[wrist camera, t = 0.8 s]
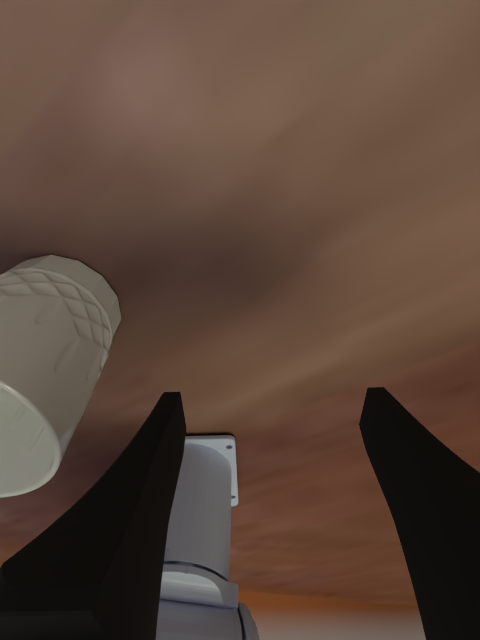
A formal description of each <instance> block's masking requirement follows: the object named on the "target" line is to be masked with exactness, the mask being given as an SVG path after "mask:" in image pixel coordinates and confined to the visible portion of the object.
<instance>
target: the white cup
mask: <svg viewBox="0 0 480 640" xmlns="http://www.w3.org/2000/svg"><path fill="white" fill-rule="evenodd" d="M121 319H122V318H121V312H120V307H119V302H118V297H117V295H116V294H115V293H114V291H113V290H112V288H111V287H110V286H109V284H108V283H107V282H106V280H105V279H104V277H103V276H101V275H100V274H98V273H97V272H95V271H94V270H92V269H91V268H89V267H88V266H86V265H85V264H83V263H82V262H80V261H78V260H73V259H69V258H64V257H60V256H55V255H47V256H42V257H37V258H33V259H28V260H25V261H23V262H22V263H20V264H18V265H17V266H15V267H13V268H12V269H10V270H8V271H7V272H5V273H3V274H0V498H1V497H10V496H16V495H21V494H24V493H28V492H30V491H33V490H35V489H37V488H39V487H41V486H43V485H44V484H45V483H47V482H48V481H49V480H50V479H51V478H52V477H53V476H54V475H55V473H56V472H57V470H58V468H59V465H60V463H61V461H62V459H63V457H64V454H65V452H66V450H67V448H68V445H69V443H70V441H71V439H72V437H73V434H74V432H75V430H76V428H77V425H78V423H79V421H80V419H81V417H82V415H83V412H84V410H85V408H86V406H87V404H88V402H89V400H90V397H91V395H92V393H93V391H94V388H95V385H96V382H97V380H98V378H99V376H100V374H101V372H102V369H103V366H104V364H105V362H106V360H107V357H108V355H109V348H110V345H111V343H112V341H113V339H114V337H115V335H116V332H117V329H118V327H119V324H120V321H121Z"/></svg>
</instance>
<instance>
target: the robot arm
mask: <svg viewBox="0 0 480 640" xmlns="http://www.w3.org/2000/svg"><path fill="white" fill-rule="evenodd" d="M359 426H360V430H361V434H362V438H363V441H364V445H365V448H366V451H367V454H368V457H369V459H370V462H371V464H372V467H373V469H374V471H375V474H376V476H377V479H378V481H379V484H380V486H381V489H382V491H383V494H384V496H385V498H386V501H387V503H388V506H389V508H390V511H391V514H392V516H393V519H394V522H395V525H396V529H397V532H398V535H399V539H400V542H401V545H402V549H403V552H404V556H405V559H406V563H407V566H408V570H409V573H410V577H411V580H412V584H413V588H414V592H415V596H416V600H417V604H418V608H419V611H420V615H421V619H422V623H423V628H424V632H425V637H426V640H480V473H479V472H478V471H476V470H475V469H474V468H472V467H471V466H470V465H468V464H467V463H466V462H465V461H463V460H462V459H461V458H459V457H458V456H457V455H456V454H455V453H453V452H452V451H451V450H450V449H449V448H447V447H446V446H445V445H444V444H443V443H442V442H440V441H439V440H438V439H437V438H436V437H435V436H434V435H432V434H431V433H430V432H429V431H428V430H427V429H426V428H425V427H424V426H423V425H422V424H421V423H420V422H418V421H417V420H416V419H415V418H414V417H413V416H412V415H411V414H410V413H409V412H408V411H407V410H406V409H405V408H404V407H403V406H402V405H401V404H400V403H399V402H398V401H397V400H396V399H395V398H394V397H393V396H392V395H391V394H390V393H389V392H388V391H387V390H386V389H385V388H384V387H377V388H368V389H367V393H366V397H365V401H364V406H363V410H362V414H361V419H360V423H359ZM237 504H238V485H237V466H236V448H235V438H234V437H233V436H231V435H218V436H186V424H185V418H184V412H183V406H182V400H181V393H180V392H164V393H163V394H162V396H161V397H160V399H159V401H158V402H157V404H156V406H155V407H154V409H153V410H152V412H151V413H150V415H149V416H148V418H147V419H146V421H145V422H144V424H143V425H142V427H141V428H140V430H139V431H138V432H137V434H136V435H135V437H134V438H133V439H132V441H131V442H130V443H129V444H128V446H127V447H126V448H125V450H124V451H123V452H122V453H121V455H120V456H119V457H118V458H117V460H116V461H115V462H114V463H113V464H112V466H111V467H110V468H109V469H108V470H107V471H106V472H105V473H104V475H103V476H102V477H101V478H100V479H99V480H98V481H97V482H96V483H95V484H94V485H93V486H92V487H91V488H90V489H89V490H88V491H87V492H86V493H85V494H84V495H83V496H82V497H81V498H80V499H79V500H78V501H77V502H76V503H75V504H74V505H73V506H72V507H71V508H70V509H69V510H68V511H66V512H65V513H64V514H63V515H62V516H61V517H60V518H58V519H57V520H56V521H55V522H54V523H53V524H52V525H51V526H49V527H48V528H47V529H46V530H45V531H44V532H42V533H41V534H40V535H39V536H38V537H36V538H35V539H34V540H32V541H31V542H30V543H29V544H27V545H26V546H25V547H24V548H22V549H21V550H20V551H19V552H17V553H16V554H15V555H13V556H12V557H11V558H10V559H8V560H7V561H5V562H4V563H3V564H2V566H1V568H0V640H259V635H258V631H257V627H256V624H255V622H254V620H253V618H252V616H251V614H250V611H249V610H248V607H247V606H246V605H245V604H243V603H239V602H238V584H236V583H231V582H230V533H231V506H236V505H237Z"/></svg>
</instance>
